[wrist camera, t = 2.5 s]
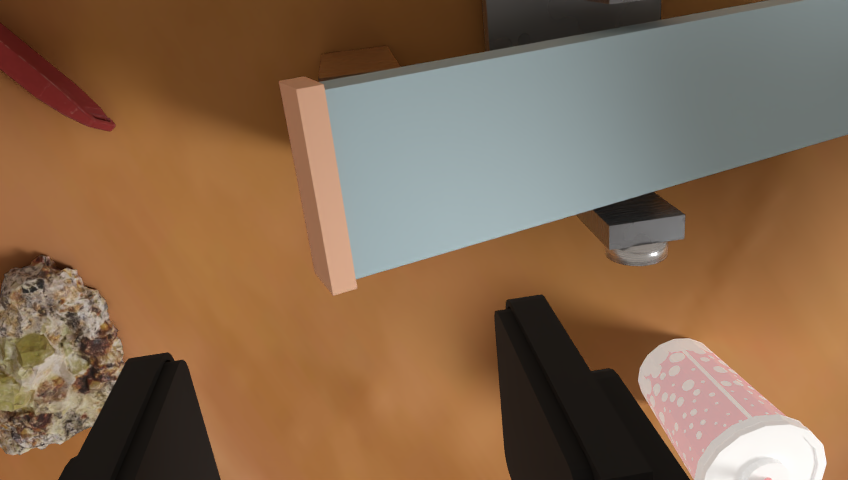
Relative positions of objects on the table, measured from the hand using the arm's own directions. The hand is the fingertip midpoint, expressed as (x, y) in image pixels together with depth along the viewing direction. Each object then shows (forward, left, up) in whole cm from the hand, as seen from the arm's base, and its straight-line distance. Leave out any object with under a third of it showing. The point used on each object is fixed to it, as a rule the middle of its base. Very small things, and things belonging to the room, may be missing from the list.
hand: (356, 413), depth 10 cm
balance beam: (-11, 0, -15) cm, 19 cm away
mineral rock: (+16, +10, -24) cm, 31 cm away
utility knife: (+14, -5, -24) cm, 28 cm away
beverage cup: (-17, +18, -24) cm, 34 cm away
